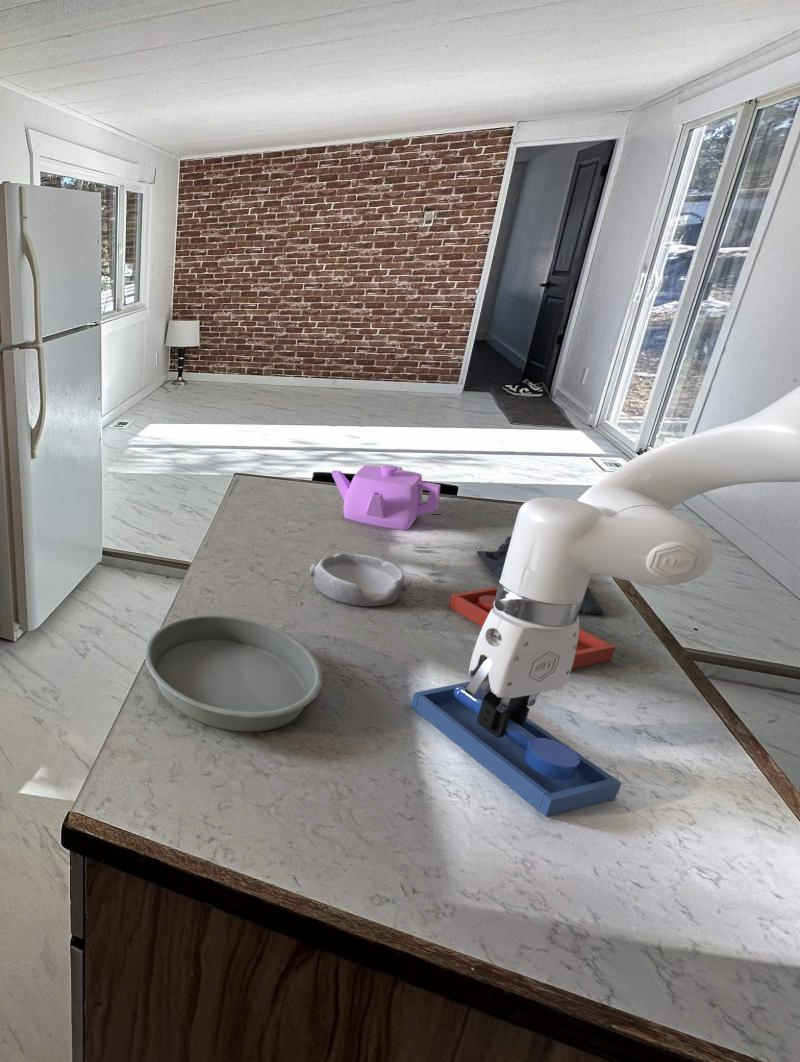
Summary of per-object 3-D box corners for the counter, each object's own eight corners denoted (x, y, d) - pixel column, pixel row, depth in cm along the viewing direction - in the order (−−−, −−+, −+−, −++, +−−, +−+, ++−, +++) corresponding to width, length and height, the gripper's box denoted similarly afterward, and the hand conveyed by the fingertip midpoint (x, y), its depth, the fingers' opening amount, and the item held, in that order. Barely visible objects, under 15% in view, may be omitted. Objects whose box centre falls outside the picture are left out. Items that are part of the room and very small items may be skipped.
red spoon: (583, 653, 97) (587, 642, 96) (558, 658, 96) (562, 647, 95) (492, 603, 111) (494, 593, 110) (469, 607, 110) (472, 597, 109)
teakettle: (441, 528, 140) (452, 475, 136) (366, 534, 139) (376, 481, 135) (390, 500, 156) (399, 452, 151) (323, 506, 155) (330, 457, 150)
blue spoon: (440, 699, 86) (443, 686, 86) (468, 693, 87) (472, 681, 87) (552, 783, 73) (557, 770, 72) (585, 775, 73) (590, 762, 73)
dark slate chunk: (497, 604, 111) (503, 580, 109) (473, 551, 129) (478, 530, 128) (611, 621, 105) (619, 596, 103) (569, 563, 123) (576, 541, 121)
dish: (417, 600, 114) (422, 575, 112) (357, 618, 110) (362, 592, 108) (350, 566, 126) (354, 543, 125) (294, 581, 122) (297, 558, 120)
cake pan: (116, 654, 104) (117, 631, 102) (247, 625, 109) (249, 602, 108) (201, 761, 82) (203, 733, 80) (359, 717, 87) (364, 690, 86)
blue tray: (410, 707, 89) (413, 692, 88) (469, 695, 90) (472, 680, 89) (545, 817, 71) (551, 800, 70) (615, 799, 73) (622, 782, 72)
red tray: (448, 606, 111) (451, 594, 110) (494, 598, 113) (498, 586, 112) (558, 671, 94) (562, 657, 93) (611, 660, 96) (616, 646, 95)
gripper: (508, 630, 69) (471, 761, 76) (626, 608, 72) (580, 736, 79) (450, 597, 76) (420, 720, 83) (560, 577, 79) (522, 698, 86)
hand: (498, 727), depth 81 cm, fingers closed on blue spoon, 2 cm apart
